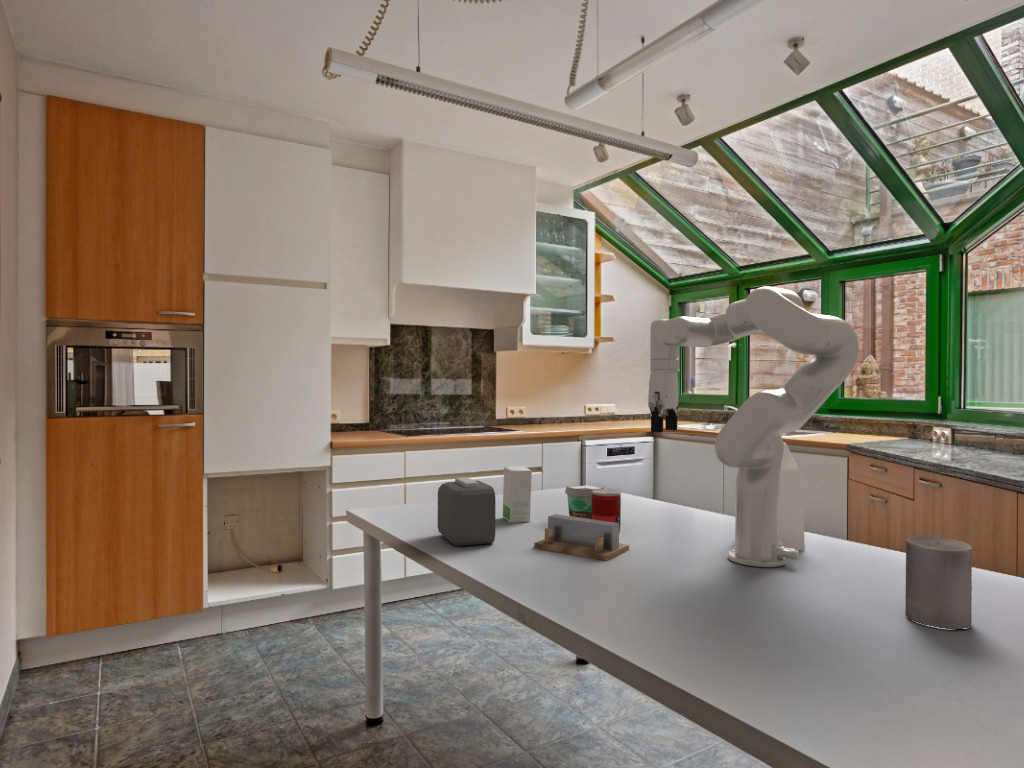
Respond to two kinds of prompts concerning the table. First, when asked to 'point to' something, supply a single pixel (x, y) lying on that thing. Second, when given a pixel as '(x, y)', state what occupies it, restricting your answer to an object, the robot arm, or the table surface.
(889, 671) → the table surface
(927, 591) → the pillar candle
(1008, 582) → the table surface
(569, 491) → the food container
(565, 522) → the steel bar
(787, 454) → the milk
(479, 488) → the alarm clock
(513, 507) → the skincare box
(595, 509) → the canned food
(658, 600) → the table surface
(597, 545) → the rack
